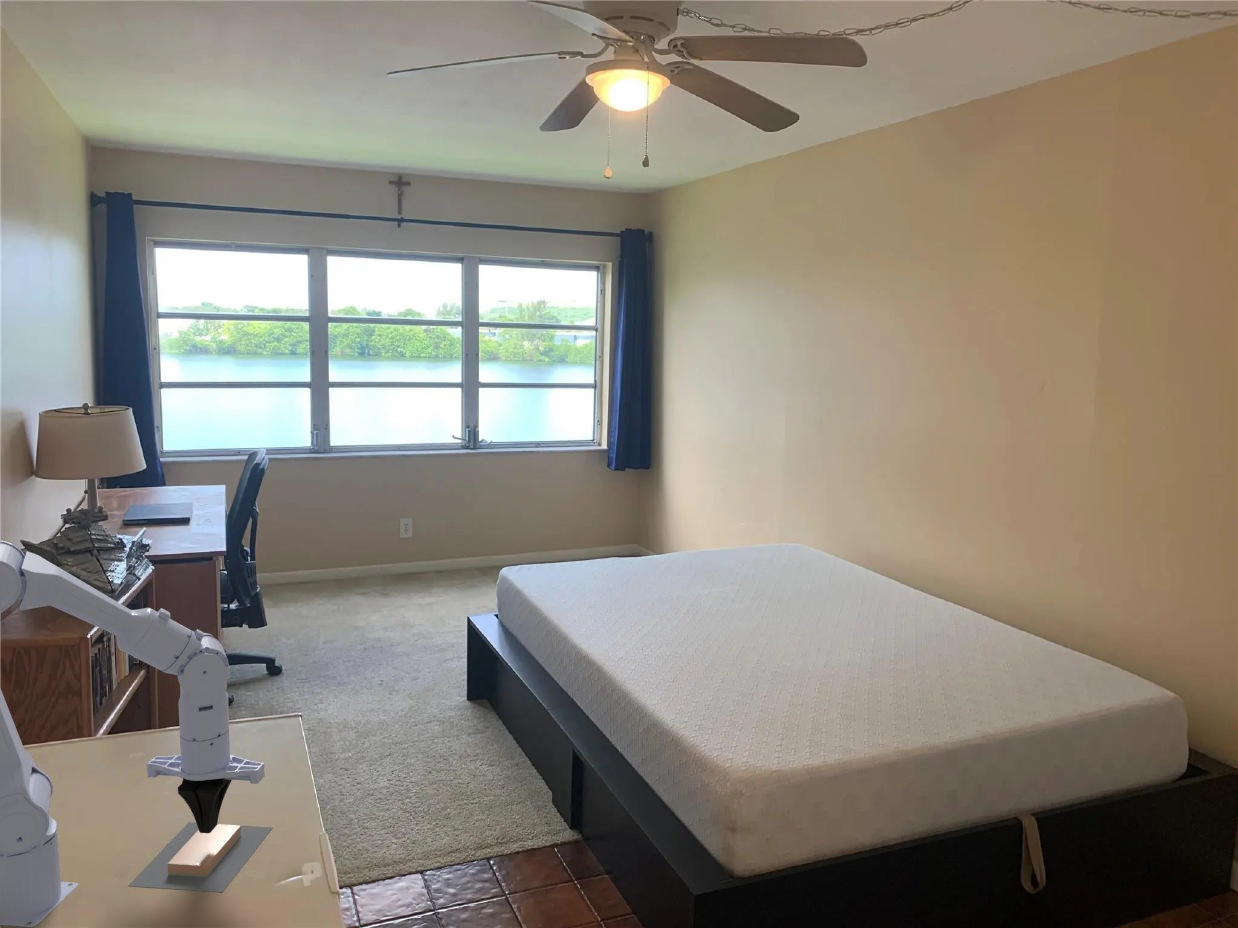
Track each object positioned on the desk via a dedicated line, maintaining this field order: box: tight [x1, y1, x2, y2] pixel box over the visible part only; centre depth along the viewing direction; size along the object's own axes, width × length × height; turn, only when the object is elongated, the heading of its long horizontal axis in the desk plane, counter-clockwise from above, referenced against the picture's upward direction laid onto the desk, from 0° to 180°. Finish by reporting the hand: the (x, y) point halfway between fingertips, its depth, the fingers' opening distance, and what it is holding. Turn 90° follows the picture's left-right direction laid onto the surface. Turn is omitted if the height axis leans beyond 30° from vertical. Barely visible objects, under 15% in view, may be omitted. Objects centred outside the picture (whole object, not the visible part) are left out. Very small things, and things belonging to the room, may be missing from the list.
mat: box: [127, 821, 274, 893], centre depth 113 cm, size 12×14×1 cm
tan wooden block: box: [168, 823, 241, 878], centre depth 113 cm, size 2×9×5 cm
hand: (208, 828), depth 113 cm, fingers closed
